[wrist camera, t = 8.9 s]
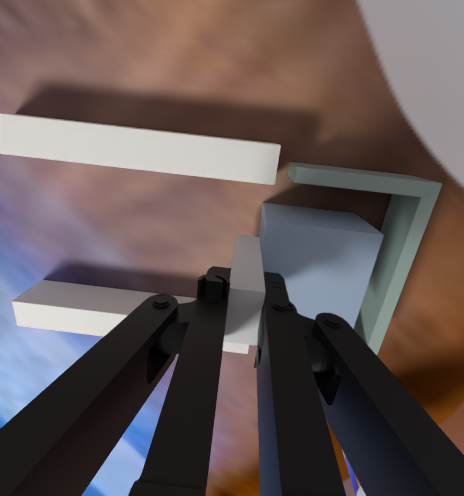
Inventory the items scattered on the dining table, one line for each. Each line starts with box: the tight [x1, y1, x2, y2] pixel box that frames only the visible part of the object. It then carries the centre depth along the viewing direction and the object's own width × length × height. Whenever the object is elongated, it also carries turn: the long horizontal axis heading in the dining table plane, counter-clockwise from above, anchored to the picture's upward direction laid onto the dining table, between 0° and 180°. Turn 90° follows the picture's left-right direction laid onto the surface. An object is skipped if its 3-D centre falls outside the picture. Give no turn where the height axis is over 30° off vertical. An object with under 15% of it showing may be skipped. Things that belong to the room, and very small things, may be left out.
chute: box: [0, 113, 281, 354], centre depth 18 cm, size 16×14×3 cm
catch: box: [287, 162, 443, 355], centre depth 18 cm, size 8×12×3 cm, turn 174°
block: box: [258, 202, 384, 329], centre depth 18 cm, size 6×6×4 cm
